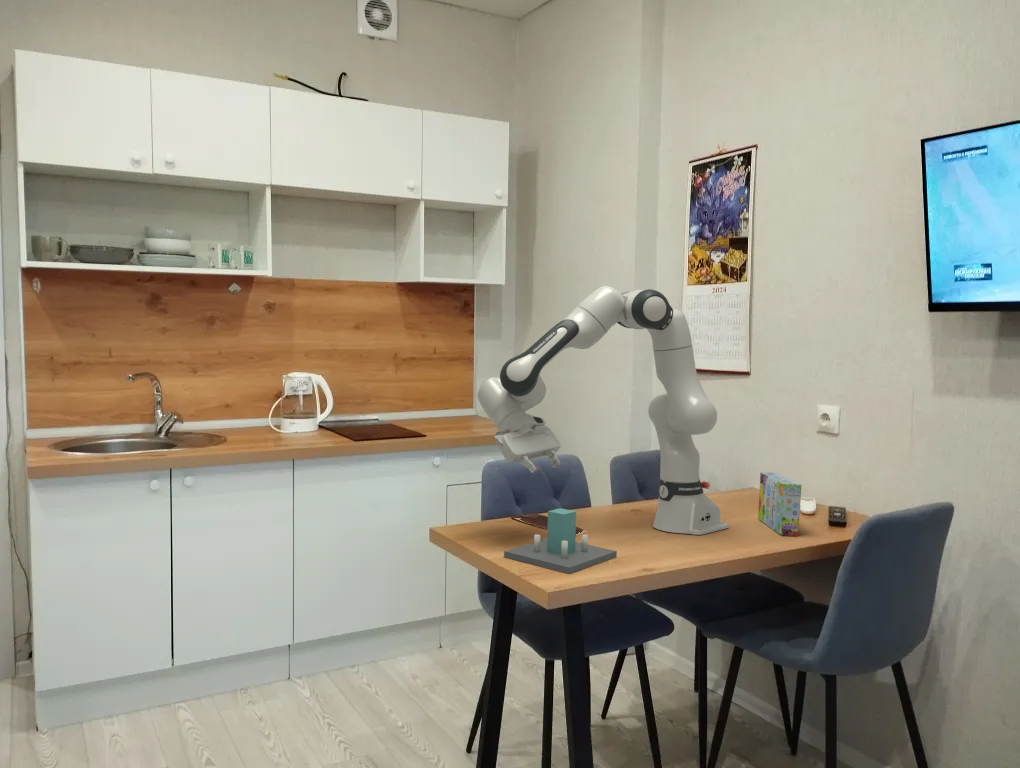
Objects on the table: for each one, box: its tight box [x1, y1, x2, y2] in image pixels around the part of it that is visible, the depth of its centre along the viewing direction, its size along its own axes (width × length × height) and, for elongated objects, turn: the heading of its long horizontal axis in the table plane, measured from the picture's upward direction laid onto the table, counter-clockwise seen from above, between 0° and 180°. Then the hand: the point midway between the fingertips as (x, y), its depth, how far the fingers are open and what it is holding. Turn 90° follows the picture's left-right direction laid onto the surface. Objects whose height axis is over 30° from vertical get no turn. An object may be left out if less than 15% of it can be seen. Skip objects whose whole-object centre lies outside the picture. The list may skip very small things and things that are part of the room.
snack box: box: [757, 471, 802, 537], centre depth 232 cm, size 21×6×15 cm, turn 0°
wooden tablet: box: [510, 513, 585, 534], centre depth 230 cm, size 26×2×10 cm
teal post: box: [546, 508, 577, 554], centre depth 196 cm, size 5×5×10 cm
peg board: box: [503, 534, 618, 575], centre depth 196 cm, size 20×20×6 cm
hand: (546, 468), depth 207 cm, fingers open, 8 cm apart
